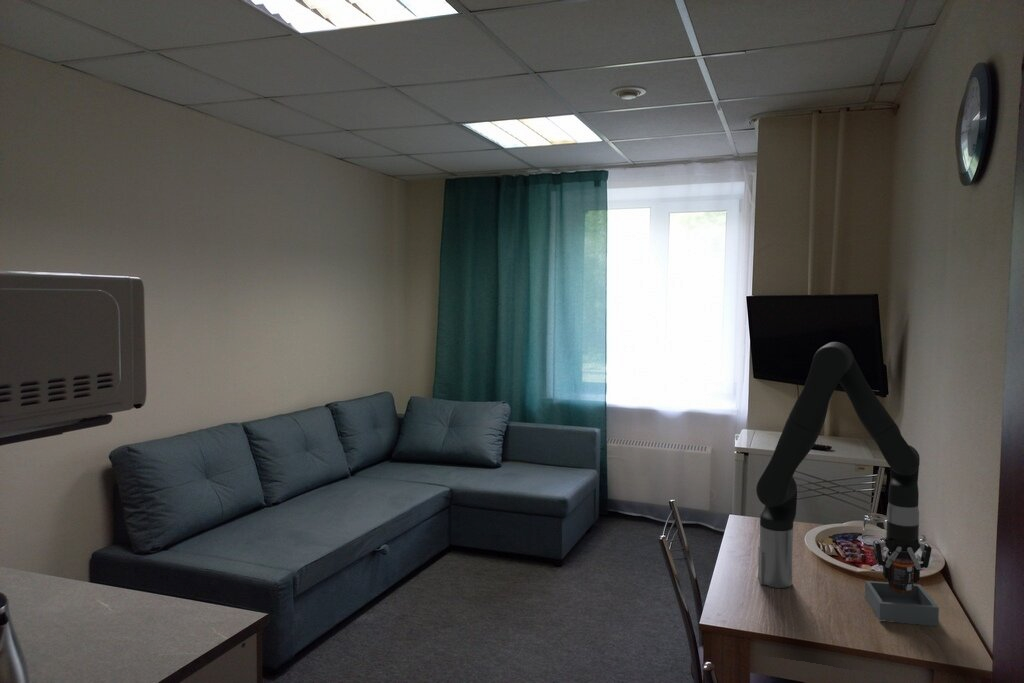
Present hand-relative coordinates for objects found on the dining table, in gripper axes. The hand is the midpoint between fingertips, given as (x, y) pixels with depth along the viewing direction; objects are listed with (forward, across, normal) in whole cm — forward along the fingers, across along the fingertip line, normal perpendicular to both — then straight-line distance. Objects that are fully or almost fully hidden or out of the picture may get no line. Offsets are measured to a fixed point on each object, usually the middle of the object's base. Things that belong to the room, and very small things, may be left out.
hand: (901, 580), depth 190 cm
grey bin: (+9, 0, 0) cm, 9 cm away
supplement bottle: (+3, 0, 0) cm, 3 cm away
